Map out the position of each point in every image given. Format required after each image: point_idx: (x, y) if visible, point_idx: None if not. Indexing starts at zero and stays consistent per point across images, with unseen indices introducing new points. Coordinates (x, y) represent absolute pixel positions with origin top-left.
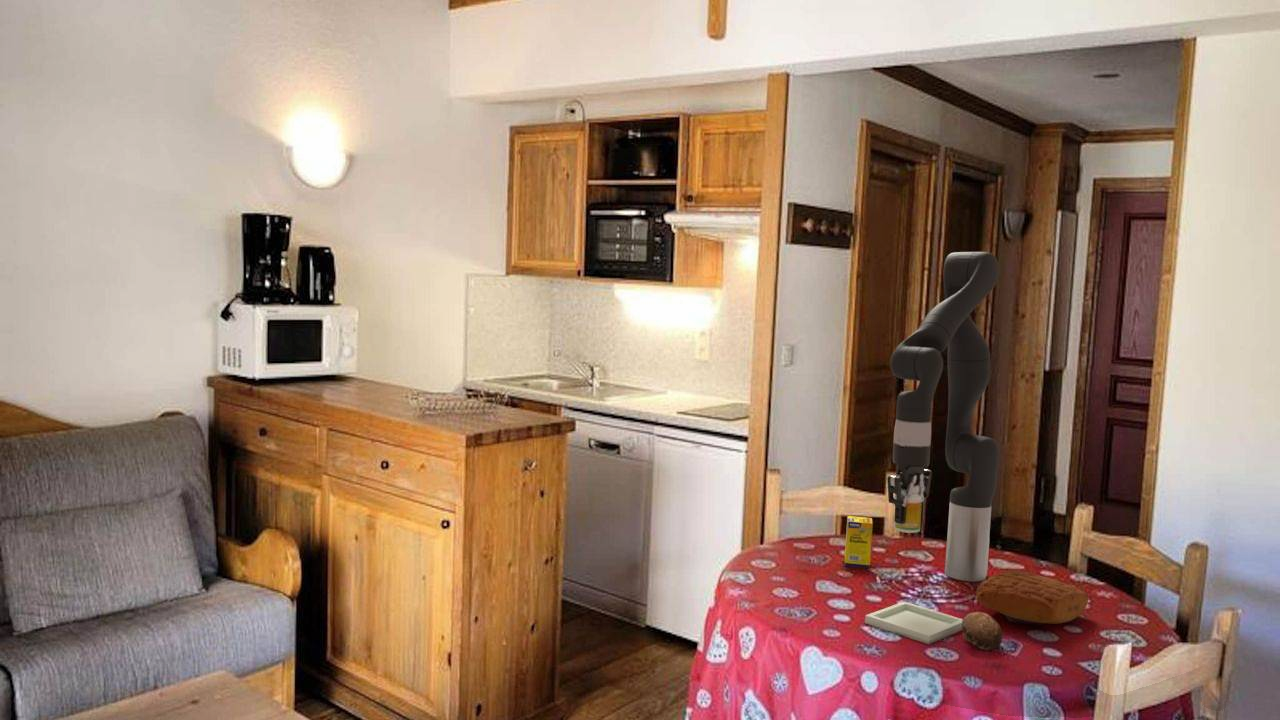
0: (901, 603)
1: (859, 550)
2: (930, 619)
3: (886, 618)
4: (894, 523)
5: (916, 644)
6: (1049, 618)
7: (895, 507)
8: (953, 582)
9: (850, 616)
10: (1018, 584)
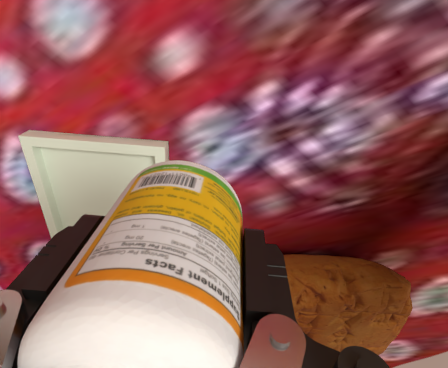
0: (148, 149)
1: None
2: None
3: (76, 152)
4: (129, 184)
5: (43, 226)
6: None
7: (10, 288)
8: (444, 130)
9: (27, 87)
10: None
